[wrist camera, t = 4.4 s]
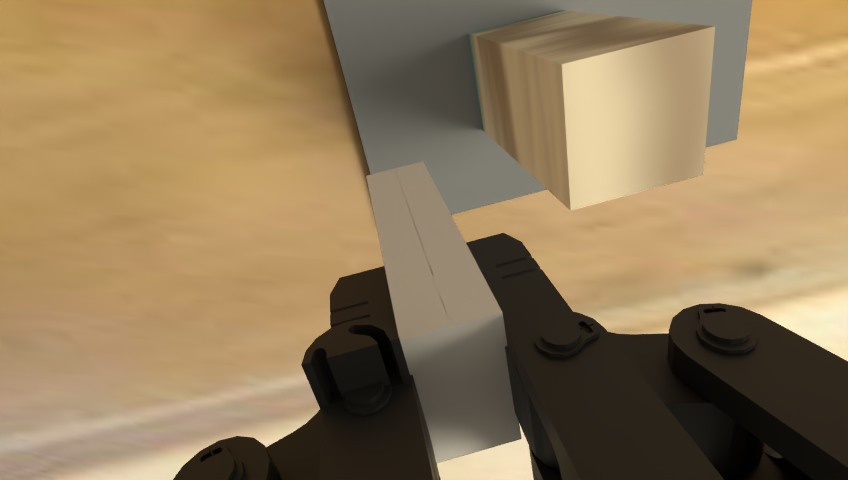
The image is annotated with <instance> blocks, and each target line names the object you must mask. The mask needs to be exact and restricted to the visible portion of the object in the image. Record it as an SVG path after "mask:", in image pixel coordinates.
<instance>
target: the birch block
mask: <svg viewBox="0 0 848 480" xmlns="http://www.w3.org/2000/svg"><path fill="white" fill-rule="evenodd" d="M468 34H469V41H470V48H471V54H472V61H473V68H474V75H475V82H476V89H477V96H478V103H479V110H480V116H481V123H482V130H483V131H484V132H485V133H486V134H487V135H488V136H489V137H491V138H492V139H493V140H494V141H495V142H496V143H497V144H498V145H499V146H500V147H502V148H503V149H504V150H505V151H506V152H507V153H508V154H509V155H510V156H511V157H513V158H514V159H515V160H516V161H517V162H518V163H519V164H520V165H521V166H522V167H523V168H525V169H526V170H527V171H528V172H529V173H530V174H531V175H532V176H533V177H534V178H536V179H537V180H538V181H539V182H540V183H541V184H542V185H543V186H544V187H545V188H547V189H548V190H549V191H550V192H551V193H552V194H553V195H554V196H555V197H556V198H557V199H559V200H560V201H561V202H562V203H563V204H564V205H565V206H566V207H567V208H568V209H570V210H575V209H579V208H582V207H586V206H590V205H594V204H597V203H601V202H605V201H608V200H612V199H616V198H620V197H623V196H627V195H631V194H635V193H638V192H642V191H646V190H649V189H653V188H657V187H661V186H664V185H668V184H672V183H676V182H679V181H683V180H687V179H691V178H694V177H698V176H702V175H703V171H704V159H705V147H706V134H707V122H708V110H709V97H710V85H711V73H712V60H713V48H714V36H715V26H708V25H698V24H689V23H679V22H670V21H660V20H651V19H641V18H632V17H622V16H613V15H603V14H594V13H584V12H575V11H565V10H563V11H559V12H555V13H551V14H546V15H542V16H538V17H534V18H530V19H526V20H521V21H517V22H513V23H509V24H505V25H501V26H496V27H492V28H488V29H484V30H480V31H476V32H472V33H468Z"/></svg>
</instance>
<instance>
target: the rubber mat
mask: <svg viewBox="0 0 848 480" xmlns="http://www.w3.org/2000/svg"><path fill="white" fill-rule="evenodd" d="M324 4H325V8H326V11H327V15H328V19H329V22H330V26H331V30H332V34H333V37H334V41H335V45H336V48H337V52H338V56H339V59H340V63H341V67H342V71H343V74H344V78H345V82H346V85H347V89H348V93H349V96H350V100H351V104H352V108H353V111H354V115H355V119H356V122H357V126H358V130H359V133H360V137H361V141H362V145H363V148H364V152H365V156H366V159H367V163H368V167H369V171H370V174H375V173H379V172H383V171H387V170H391V169H395V168H399V167H403V166H407V165H411V164H415V163H419V162H424V164H425V166H426V168H427V170H428V172H429V174H430V176H431V178H432V179H433V181H434V183H435V185H436V187H437V189H438V191H439V193H440V195H441V197H442V198H443V200H444V202H445V204H446V206H447V208H448V210H449V212H450V214H451V215H452V214H456V213H460V212H463V211H467V210H471V209H475V208H479V207H482V206H486V205H490V204H494V203H498V202H501V201H505V200H509V199H513V198H516V197H520V196H524V195H528V194H532V193H535V192H539V191H543V190H547V188H545V187H544V186H543V185H542V184H541V183H540V182H539V181H538V180H537V179H536V178H534V177H533V176H532V175H531V174H530V173H529V172H528V171H527V170H526V169H525V168H523V167H522V166H521V165H520V164H519V163H518V162H517V161H516V160H515V159H514V158H513V157H511V156H510V155H509V154H508V153H507V152H506V151H505V150H504V149H503V148H502V147H500V146H499V145H498V144H497V143H496V142H495V141H494V140H493V139H492V138H491V137H489V136H488V135H487V134H486V133H485V132H484V131H483V130H482V123H481V116H480V110H479V103H478V96H477V89H476V82H475V75H474V68H473V61H472V54H471V48H470V41H469V34H468V33H472V32H476V31H480V30H484V29H488V28H492V27H496V26H501V25H505V24H509V23H513V22H517V21H521V20H526V19H530V18H534V17H538V16H542V15H546V14H551V13H555V12H559V11H563V10H565V11H575V12H584V13H594V14H603V15H613V16H622V17H632V18H641V19H651V20H660V21H670V22H679V23H689V24H698V25H708V26H715V36H714V48H713V60H712V73H711V85H710V97H709V110H708V122H707V134H706V147H710V146H713V145H717V144H721V143H725V142H728V141H732V140H736V139H737V131H738V123H739V114H740V105H741V96H742V87H743V78H744V69H745V60H746V51H747V42H748V33H749V24H750V15H751V7H752V0H324ZM706 147H705V148H706Z"/></svg>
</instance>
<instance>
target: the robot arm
mask: <svg viewBox="0 0 848 480" xmlns="http://www.w3.org/2000/svg"><path fill="white" fill-rule="evenodd" d="M366 177H367V182H368V187H369V192H370V197H371V202H372V207H373V212H374V217H375V222H376V227H377V232H378V237H379V242H380V247H381V252H382V257H383V261H384V266H383V267H379V268H375V269H372V270H368V271H364V272H360V273H357V274H353V275H349V276H345V277H341V278H339V280H338V282H337V284H336V285H335V287H334V289H333V290H332V292H331V294H330V312H331V314H330V325H331V329H329V330H328V331H326V332H325V333H323V334H322V335H320V336H319V337H318V338H316V339H315V341H314V342H313V343H312V344H311V346H310V347H309V348H308V349H307V350H306V352H305V355H304V358H303V362H302V367H303V370H304V372H305V374H306V377H307V379H308V381H309V384H310V386H311V388H312V390H313V393H314V395H315V397H316V400H317V402H318V404H319V407H320V410H319V411H318V413H317V414H316V415H315V416H314V417H313V418H311V419H310V420H309V421H308V422H307V423H306V424H305V425H303V426H302V427H300V428H299V429H297V430H296V431H294V432H293V433H291V434H289V435H287V436H286V437H284V438H282V439H280V440H279V441H277V442H275V443H273V444H271V445H270V446H268V447H265V446H264V445H263V444H262V443H260V442H259V441H257V440H256V439H254V438H250V437H241V436H236V437H232V438H228V439H224V440H220V441H218V442H216V443H214V444H212V445H210V446H209V447H207V448H205V449H203V450H201V451H200V452H199V453H197V454H196V455H195V456H194V457H193V458H192V459H191V460H189V461H188V462H187V463H186V464H185V465H184V466H183V467H182V468H181V469H180V471H179V472H178V474H177V475H176V476H175V478H174V479H173V480H440V476H439V472H438V468H437V463H440V462H443V461H446V460H450V459H453V458H457V457H460V456H464V455H467V454H471V453H474V452H478V451H481V450H485V449H488V448H491V447H495V446H498V445H502V444H505V443H509V442H512V441H516V440H519V439H521V433H520V426H519V423H520V425H521V428H522V430H523V432H524V435H525V437H526V439H527V442H528V444H529V449H530V456H531V463H532V471H533V478H534V480H848V361H846V360H844V359H842V358H840V357H839V356H837V355H835V354H833V353H831V352H829V351H827V350H825V349H824V348H822V347H820V346H818V345H816V344H814V343H812V342H811V341H809V340H807V339H805V338H803V337H801V336H799V335H797V334H796V333H794V332H792V331H790V330H788V329H786V328H784V327H783V326H781V325H779V324H777V323H775V322H773V321H771V320H770V319H768V318H766V317H764V316H762V315H760V314H757V313H755V312H752V311H750V310H747V309H745V308H742V307H738V306H732V305H726V304H721V303H716V304H699V305H695V306H692V307H689V308H686V309H683V310H682V311H681V312H679V313H678V314H677V315H676V316H675V317H673V319H672V322H671V325H670V329H669V334H637V335H630V334H616V333H611V332H607V330H606V329H605V328H604V327H603V326H601V325H600V324H599V323H598V322H597V321H595V320H594V319H593V318H590V317H588V316H585V315H583V314H580V313H577V312H573V311H572V310H571V308H570V307H569V306H568V304H567V303H566V302H565V300H564V299H563V298H562V296H561V295H560V294H559V292H558V291H557V289H556V288H555V287H554V285H553V284H552V283H551V281H550V280H549V279H548V277H547V276H546V275H545V273H544V272H543V271H542V270H540V266H539V265H538V264H537V262H536V261H535V260H534V258H532V256H531V254H530V253H529V252H528V250H527V249H526V247H525V246H524V245H523V243H522V242H521V241H519V240H517V239H515V238H513V237H511V236H509V235H507V234H505V233H501V234H498V235H494V236H490V237H486V238H482V239H479V240H475V241H471V242H467V243H466V242H465V240H464V238H463V236H462V235H461V233H460V231H459V229H458V227H457V225H456V223H455V221H454V219H453V217H452V216H451V214H450V212H449V210H448V208H447V206H446V204H445V202H444V200H443V198H442V197H441V195H440V193H439V191H438V189H437V187H436V185H435V183H434V181H433V179H432V178H431V176H430V174H429V172H428V170H427V168H426V166H425V164H424V162H419V163H415V164H411V165H407V166H403V167H399V168H395V169H391V170H387V171H383V172H379V173H375V174H371V175H367V176H366Z"/></svg>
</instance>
